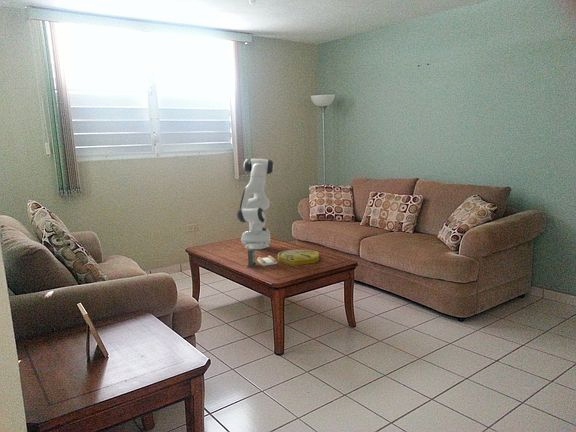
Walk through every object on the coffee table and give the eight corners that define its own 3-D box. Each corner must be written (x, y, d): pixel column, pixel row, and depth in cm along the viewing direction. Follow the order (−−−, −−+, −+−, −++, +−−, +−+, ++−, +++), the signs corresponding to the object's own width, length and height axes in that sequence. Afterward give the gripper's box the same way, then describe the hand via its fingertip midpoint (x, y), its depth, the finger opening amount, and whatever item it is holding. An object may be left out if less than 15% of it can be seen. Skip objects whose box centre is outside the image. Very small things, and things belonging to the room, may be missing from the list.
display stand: (257, 260, 305) (256, 257, 305) (270, 259, 309) (270, 255, 309) (263, 265, 294) (262, 261, 293) (277, 263, 297) (277, 259, 297)
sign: (293, 247, 328) (327, 252, 310) (293, 251, 328) (327, 257, 310) (269, 256, 306) (304, 262, 288) (269, 260, 306) (304, 267, 288)
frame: (249, 264, 297) (249, 248, 295) (256, 264, 296) (255, 248, 294) (247, 267, 292) (246, 250, 290) (253, 267, 291) (253, 250, 289)
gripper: (241, 228, 304) (237, 246, 296) (270, 228, 299) (267, 246, 291) (244, 233, 309) (240, 250, 301) (272, 233, 304) (269, 251, 296)
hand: (253, 248), depth 296 cm, fingers open, 8 cm apart
